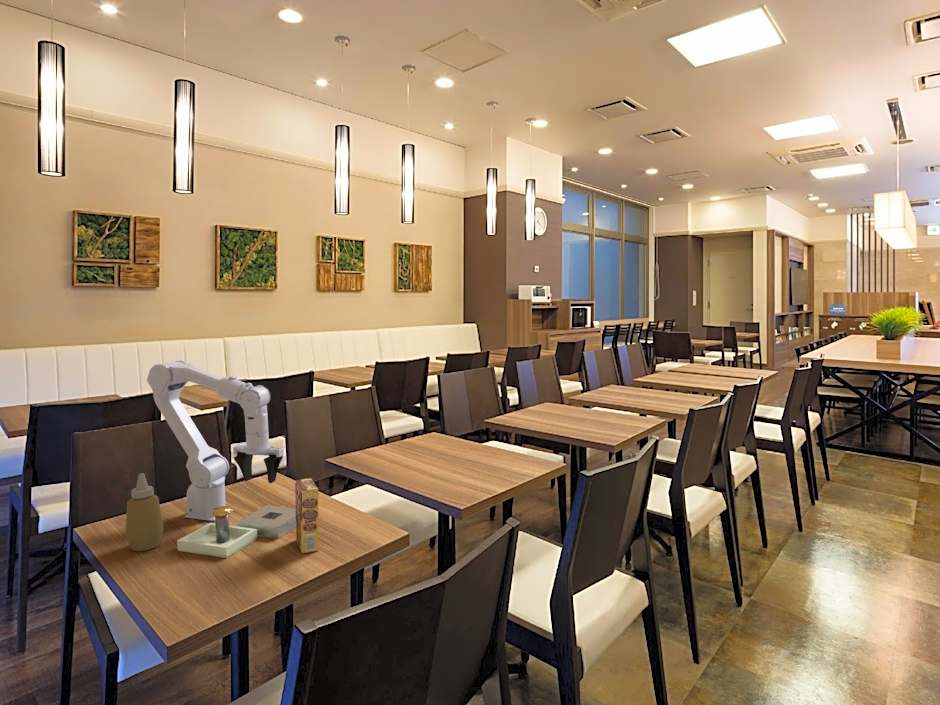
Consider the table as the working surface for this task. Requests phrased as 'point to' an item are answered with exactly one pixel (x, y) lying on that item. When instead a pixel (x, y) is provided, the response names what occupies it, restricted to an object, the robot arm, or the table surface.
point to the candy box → (307, 515)
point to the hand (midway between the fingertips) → (260, 480)
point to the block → (271, 521)
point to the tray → (207, 545)
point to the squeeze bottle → (143, 517)
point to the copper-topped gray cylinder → (222, 523)
